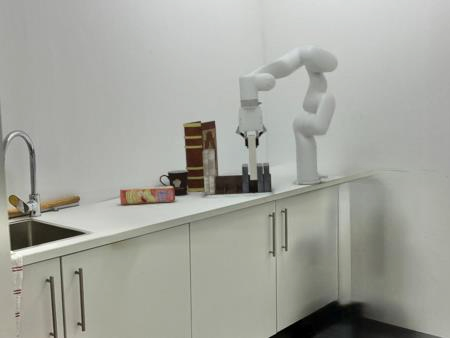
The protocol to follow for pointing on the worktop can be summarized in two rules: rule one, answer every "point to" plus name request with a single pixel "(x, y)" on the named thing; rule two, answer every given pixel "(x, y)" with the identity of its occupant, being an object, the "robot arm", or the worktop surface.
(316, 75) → the robot arm
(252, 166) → the ivory book
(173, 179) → the coffee mug
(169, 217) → the worktop surface
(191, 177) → the decorative book
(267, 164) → the book rack
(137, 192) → the snack package
